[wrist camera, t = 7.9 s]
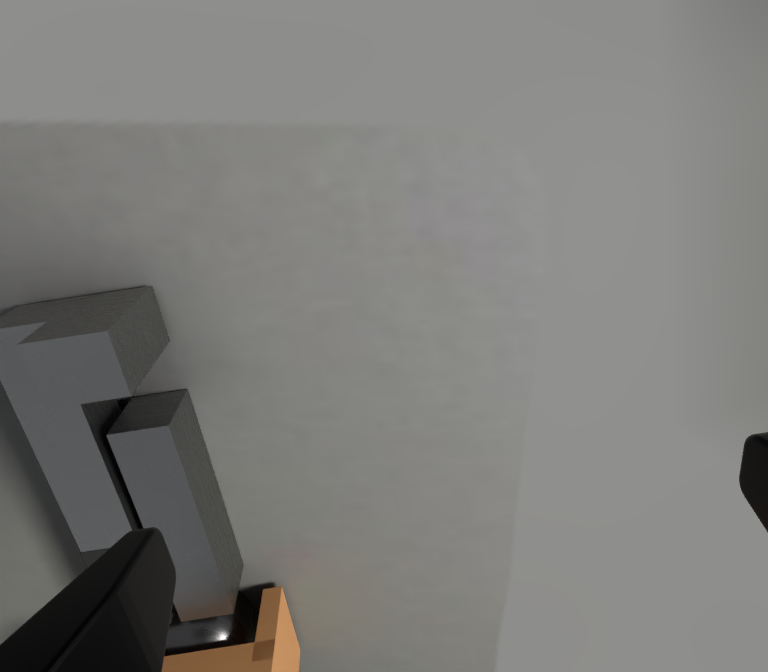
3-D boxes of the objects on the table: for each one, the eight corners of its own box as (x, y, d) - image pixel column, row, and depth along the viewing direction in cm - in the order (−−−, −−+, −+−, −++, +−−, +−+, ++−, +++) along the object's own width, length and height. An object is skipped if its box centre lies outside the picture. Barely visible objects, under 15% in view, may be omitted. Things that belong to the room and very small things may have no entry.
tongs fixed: (267, 638, 25) (259, 690, 23) (174, 653, 25) (158, 706, 23) (187, 389, 20) (168, 425, 18) (70, 406, 20) (37, 445, 18)
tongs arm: (243, 568, 23) (225, 652, 20) (137, 584, 23) (101, 671, 20) (152, 285, 18) (107, 330, 15) (17, 305, 18) (-60, 356, 15)
